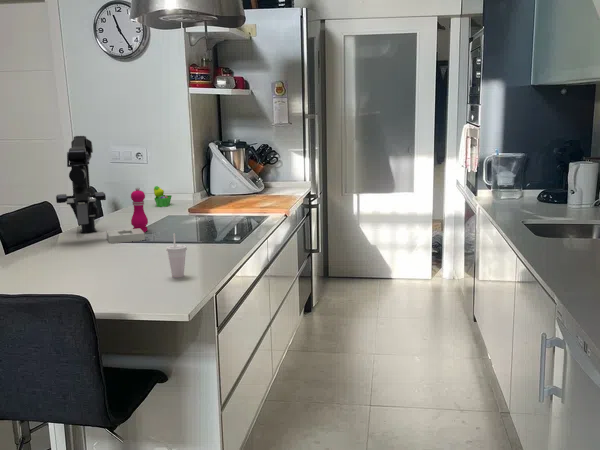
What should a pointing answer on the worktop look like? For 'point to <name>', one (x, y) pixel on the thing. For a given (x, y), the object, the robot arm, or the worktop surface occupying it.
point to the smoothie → (177, 259)
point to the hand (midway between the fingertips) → (82, 218)
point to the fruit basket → (161, 197)
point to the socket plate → (125, 235)
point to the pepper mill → (139, 210)
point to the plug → (82, 213)
